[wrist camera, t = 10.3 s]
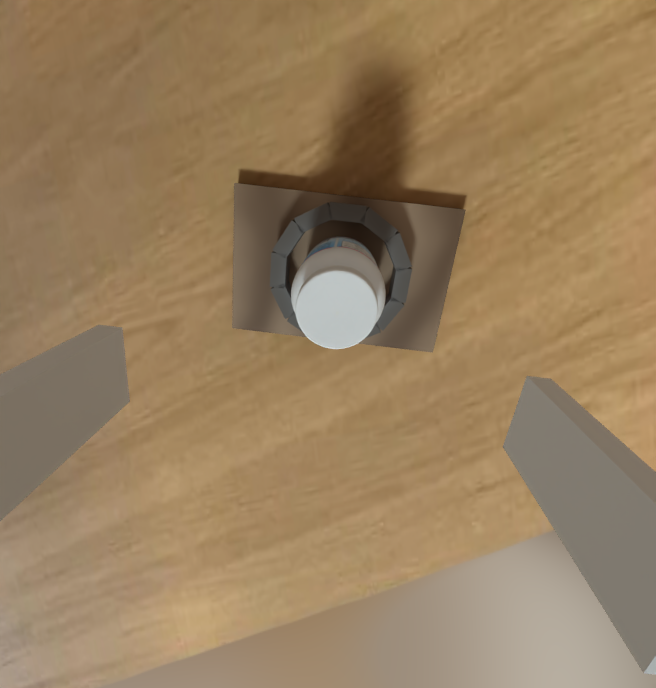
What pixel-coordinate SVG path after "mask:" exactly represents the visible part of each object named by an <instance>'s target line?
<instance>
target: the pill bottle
mask: <svg viewBox="0 0 656 688" xmlns="http://www.w3.org/2000/svg"><path fill="white" fill-rule="evenodd" d="M385 297H386V292H385V285H384V281H383V278H382V275H381V273H380V271H379V268H378V266H377V264H376V262H375V260H374V257H373V256H372V254H371V252H370V251H369V250H368V248H367V247H366V246H365V245H363V244H362V243H361V242H359V241H357V240H355V239H353V238H349V237H343V236H337V237H331V238H328V239H326V240H323V241H322V242H320V243H319V244H317V245H316V246H315V247H314V248H313V249H312V250H311V252H310V253H309V254H308V256H307V257H306V259H305V260H304V262H303V263H302V265H301V266H300V268H299V269H298V271H297V273H296V275H295V278H294V280H293V283H292V288H291V302H292V306H293V310H294V312H295V315H296V318H297V322H298V324H299V327H300V328H301V330H302V332H303V333H304V334H305V335H306V336H307V337H308V338H309V339H310V340H311V341H313V342H314V343H316V344H318V345H320V346H322V347H325V348H331V349H343V348H348V347H351V346H353V345H356V344H358V343H359V342H361V341H362V340H363V339H365V338H366V337H367V336H368V335H369V333H370V332H371V331H372V329H373V327H374V325H375V324H376V322H377V321H378V319H379V318H380V316H381V314H382V311H383V308H384V305H385Z"/></svg>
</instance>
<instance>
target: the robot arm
mask: <svg viewBox="0 0 656 688" xmlns="http://www.w3.org/2000/svg"><path fill="white" fill-rule="evenodd" d="M129 402H130V399H129V389H128V379H127V370H126V360H125V350H124V340H123V330H122V327H114V326H105V325H97V326H95V327H93V328H91V329H89V330H87V331H85V332H83V333H81V334H79V335H77V336H76V337H74V338H72V339H70V340H68V341H66V342H64V343H62V344H60V345H58V346H56V347H54V348H52V349H50V350H48V351H46V352H44V353H42V354H40V355H38V356H36V357H34V358H32V359H30V360H28V361H26V362H24V363H22V364H20V365H18V366H16V367H14V368H12V369H10V370H8V371H6V372H4V373H2V374H0V521H1V520H2V519H3V518H4V517H5V516H6V515H8V514H9V513H10V512H11V511H12V510H13V509H14V508H15V507H16V506H17V505H18V504H19V503H20V502H22V501H23V500H24V499H25V498H26V497H27V496H28V495H29V494H30V493H31V492H32V491H33V490H35V489H36V488H37V487H38V486H39V485H40V484H41V483H42V482H43V481H44V480H45V479H46V478H48V477H49V476H50V475H51V474H52V473H53V472H54V471H55V470H56V469H57V468H58V467H59V466H60V465H62V464H63V463H64V462H65V461H66V460H67V459H68V458H69V457H70V456H71V455H72V454H73V453H75V452H76V451H77V450H78V449H79V448H80V447H81V446H82V445H83V444H84V443H85V442H86V441H88V440H89V439H90V438H91V437H92V436H93V435H94V434H95V433H96V432H97V431H98V430H99V429H100V428H102V427H103V426H104V425H105V424H106V423H107V422H108V421H109V420H110V419H111V418H112V417H113V416H115V415H116V414H117V413H118V412H119V411H120V410H121V409H122V408H123V407H124V406H125V405H126V404H128V403H129ZM503 448H504V449H505V451H506V453H507V454H508V456H509V457H510V459H511V461H512V462H513V464H514V465H515V467H516V469H517V470H518V472H519V473H520V475H521V477H522V478H523V480H524V481H525V483H526V485H527V486H528V488H529V490H530V491H531V493H532V494H533V496H534V498H535V499H536V501H537V502H538V504H539V506H540V507H541V509H542V510H543V512H544V514H545V515H546V517H547V518H548V520H549V522H550V523H551V525H552V527H553V528H554V530H555V531H556V533H557V535H558V536H559V538H560V539H561V541H562V543H563V544H564V546H565V547H566V549H567V551H568V552H569V554H570V556H571V557H572V559H573V560H574V562H575V564H576V565H577V567H578V568H579V570H580V572H581V573H582V575H583V576H584V578H585V580H586V581H587V583H588V584H589V586H590V588H591V589H592V591H593V592H594V594H595V596H596V597H597V599H598V601H599V602H600V604H601V605H602V607H603V609H604V610H605V612H606V613H607V615H608V617H609V618H610V620H611V622H612V623H613V625H614V626H615V628H616V630H617V631H618V633H619V634H620V636H621V638H622V639H623V641H624V642H625V644H626V646H627V647H628V649H629V650H630V652H631V654H632V655H633V657H634V658H635V660H636V662H637V663H638V665H639V667H640V668H641V670H642V671H643V673H647V674H655V675H656V472H655V471H654V470H653V469H651V468H650V467H649V466H648V465H647V464H646V463H645V462H644V461H643V460H641V459H640V458H639V457H638V456H637V455H636V454H635V453H634V452H632V451H631V450H630V449H629V448H628V447H627V446H626V445H625V444H623V443H622V442H621V441H620V440H619V439H618V438H617V437H616V436H614V435H613V434H612V433H611V432H610V431H609V430H608V429H607V428H605V427H604V426H603V425H602V424H601V423H600V422H599V421H598V420H597V419H595V418H594V417H593V416H592V415H591V414H590V413H589V412H588V411H586V410H585V409H584V408H583V407H582V406H581V405H580V404H579V403H577V402H576V401H575V400H574V399H573V398H572V397H571V396H570V395H568V394H567V393H566V392H565V391H564V390H563V389H562V388H561V387H559V386H558V385H557V384H556V383H555V382H554V381H553V380H552V379H548V378H540V377H532V376H527V377H526V380H525V383H524V386H523V389H522V392H521V395H520V398H519V401H518V404H517V407H516V410H515V413H514V416H513V419H512V422H511V425H510V427H509V430H508V433H507V436H506V439H505V442H504V445H503Z"/></svg>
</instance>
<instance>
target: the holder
mask: <svg viewBox="0 0 656 688" xmlns="http://www.w3.org/2000/svg"><path fill="white" fill-rule="evenodd" d="M464 215H465V210H464V209H455V208H447V207H438V206H429V205H421V204H412V203H403V202H395V201H386V200H377V199H369V198H360V197H351V196H343V195H334V194H326V193H317V192H308V191H300V190H291V189H282V188H274V187H265V186H256V185H248V184H239V183H234V249H233V324H232V328H236V329H244V330H253V331H261V332H269V333H277V334H285V335H294V336H302V337H307V336H306V335H305V334H304V333H303V332H302V330H301V328H300V327H299V324H298V322H297V318H296V315H295V312H294V310H293V306H292V302H291V288H292V283H293V280H294V278H295V275H296V273H297V271H298V269H299V268H300V266H301V265H302V263H303V262H304V260H305V259H306V257H307V256H308V254H309V253H310V252H311V250H312V249H313V248H314V247H315V246H316V245H317V244H319V243H320V242H322V241H323V240H326V239H328V238H331V237H337V236H343V237H349V238H353V239H355V240H357V241H359V242H361V243H362V244H363V245H365V246H366V247H367V248H368V250H369V251H370V252H371V254H372V256H373V257H374V260H375V262H376V264H377V266H378V268H379V271H380V273H381V275H382V278H383V281H384V285H385V292H386V297H385V305H384V308H383V311H382V314H381V316H380V318H379V319H378V321H377V322H376V324H375V325H374V327H373V329H372V331H371V332H370V333H369V335H368V336H367V337H366V338H365V339H363V340H362V341H361V342H359V344H368V345H376V346H384V347H392V348H401V349H409V350H417V351H425V352H433V349H434V345H435V341H436V336H437V332H438V328H439V323H440V319H441V315H442V310H443V306H444V302H445V297H446V293H447V289H448V284H449V280H450V276H451V271H452V267H453V262H454V258H455V254H456V249H457V245H458V241H459V236H460V232H461V228H462V223H463V219H464Z"/></svg>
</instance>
